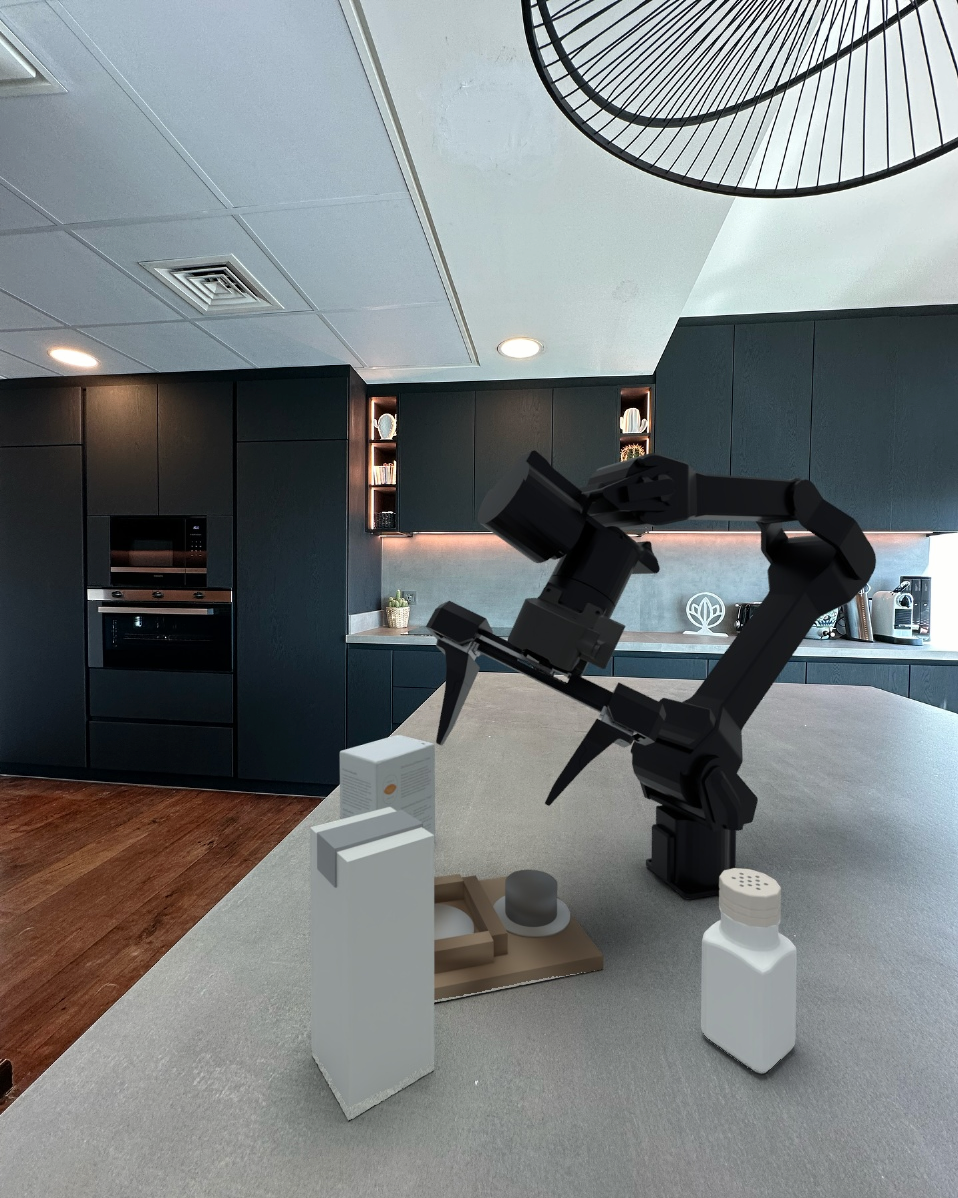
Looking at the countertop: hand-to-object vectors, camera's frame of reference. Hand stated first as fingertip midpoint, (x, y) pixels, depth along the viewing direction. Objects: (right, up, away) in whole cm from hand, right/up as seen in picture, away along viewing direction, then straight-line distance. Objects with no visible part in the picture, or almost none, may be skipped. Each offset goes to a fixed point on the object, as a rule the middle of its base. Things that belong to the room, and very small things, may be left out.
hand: (491, 773), depth 43 cm
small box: (-10, -12, +14) cm, 21 cm away
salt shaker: (+15, -13, -10) cm, 22 cm away
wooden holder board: (-2, -12, 0) cm, 12 cm away
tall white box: (-7, -13, -11) cm, 18 cm away
